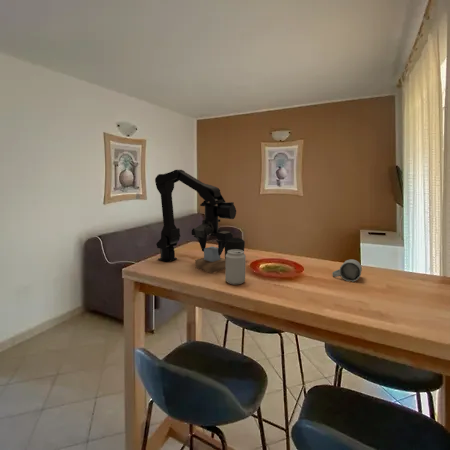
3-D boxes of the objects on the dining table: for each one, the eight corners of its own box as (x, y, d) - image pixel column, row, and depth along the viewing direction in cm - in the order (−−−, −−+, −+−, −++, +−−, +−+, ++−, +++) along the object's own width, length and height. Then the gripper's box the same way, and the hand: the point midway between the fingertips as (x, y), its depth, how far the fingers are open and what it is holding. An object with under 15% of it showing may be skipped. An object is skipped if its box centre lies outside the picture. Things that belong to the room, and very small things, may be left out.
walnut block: (195, 269, 131) (195, 260, 131) (211, 264, 139) (211, 255, 138) (211, 274, 125) (211, 264, 124) (228, 268, 132) (228, 259, 131)
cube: (211, 257, 135) (211, 246, 134) (220, 259, 132) (220, 248, 131) (203, 259, 131) (203, 248, 130) (212, 262, 128) (212, 250, 127)
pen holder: (220, 261, 141) (220, 240, 139) (230, 257, 149) (231, 236, 147) (238, 264, 136) (238, 243, 134) (247, 260, 144) (248, 239, 142)
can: (243, 286, 111) (244, 254, 109) (223, 284, 112) (223, 252, 110) (246, 279, 118) (247, 249, 116) (227, 277, 119) (227, 248, 117)
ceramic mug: (361, 277, 122) (362, 258, 120) (360, 283, 114) (361, 263, 113) (333, 273, 126) (334, 255, 125) (330, 279, 119) (331, 260, 118)
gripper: (182, 217, 127) (182, 253, 130) (216, 221, 116) (215, 261, 118) (200, 214, 136) (200, 248, 138) (233, 218, 124) (233, 255, 127)
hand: (211, 253), depth 130 cm, fingers open, 9 cm apart
